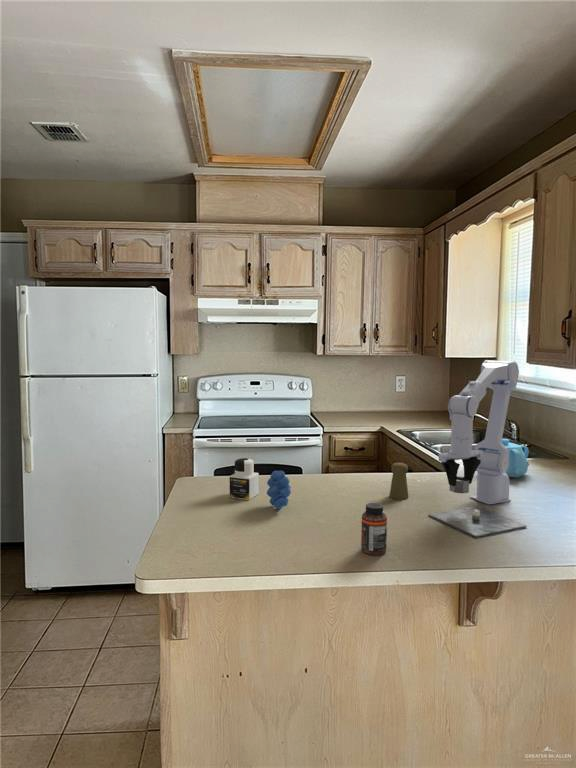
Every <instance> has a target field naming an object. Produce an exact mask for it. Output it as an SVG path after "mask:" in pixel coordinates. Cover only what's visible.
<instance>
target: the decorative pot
mask: <svg viewBox="0 0 576 768" xmlns="http://www.w3.org/2000/svg"><path fill="white" fill-rule="evenodd" d="M502 444H503V445H504V446H505V447H506V448H507V449H508V450H509V466H508V469H507V471H506V472H505V473H506V474H507V475H508V477H509V478H514V479H520V478H521V477H523V476H525V475H526V474H527V472H528V467H529V466H530V462H529V461H528V460H527V459H528V456H529V453H530V451H529V448H528V447H527V446H526V445H523V444H517V443H514V442H511V441H510V439H508V438H502ZM523 449H524V450H523ZM486 451H491V450H486ZM492 452H497V451H492ZM498 453H500V452H498Z"/></svg>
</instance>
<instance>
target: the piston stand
mask: <svg viewBox="0 0 576 768" xmlns="http://www.w3.org/2000/svg"><path fill="white" fill-rule="evenodd" d="M428 517H430V518H432V519H434V520H436V521H438V522H441V523H442V524H444V525H446V526H448V527H451V528H453V529H456V530H457V531H458V532H459V531H460V532H462V533H463V534H465V535H467V534H468V535H467V536H469V535H470V537H471V536H472V537H471V538H474V539H479V538H478V537H480V538H483V537H488V536H492V535H493V536H494V535H498V534H503V533H507V532H508V533H509V532H512V531H513V532H514V531H517V530H523V529H526V528H527V525H525V524H523V523H520V522H518V521H516V520H514V519H511V518H508V517H506V516H503V515H502V514H498V513H496V512H493V511H491V510H489V509H486V508H484V507H481V506H479V505H472V506H466V507H462V508H461V507H460V508H454V509H450V510H442V511H437V512H432V513H428Z"/></svg>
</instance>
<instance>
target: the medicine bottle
mask: <svg viewBox="0 0 576 768" xmlns="http://www.w3.org/2000/svg"><path fill="white" fill-rule="evenodd" d="M254 463H255V462H254V460H253V459H251V458H248V457H247V458H246V457H245V458H244V457H243V458H238V459H236V460H235V461H234V473H233V474H231V475H229V498H230V497H232V498H231V499H236V498H238V500H244V499H246V500H245V501H250V500H252V499H253V498H255V497H256V496H258V495H259V494H260V490H259V489H260V485H259V484H260V483H259V482H260V481H259V478H260V477H259V476H260V474H259V472H254V470H255V469H254V467H255V465H254ZM257 494H258V495H257ZM254 496H255V497H254ZM251 498H252V499H251Z"/></svg>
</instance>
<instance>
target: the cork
mask: <svg viewBox="0 0 576 768" xmlns="http://www.w3.org/2000/svg"><path fill="white" fill-rule="evenodd" d="M390 468H391V469H390V470H391V473H392V477H391V484H390V490H389V496H388V497H389V498H390V499H392V498H393V499H392V500H396V499H397V500H398V501H404V499H405V500H408V499H409V498H408V497H410V496H409V490H408V489H409V488H408V481H407V473H408V470H409V467H408V464H406V463H403V462H395V463H393V464H392V465H391V467H390Z"/></svg>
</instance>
